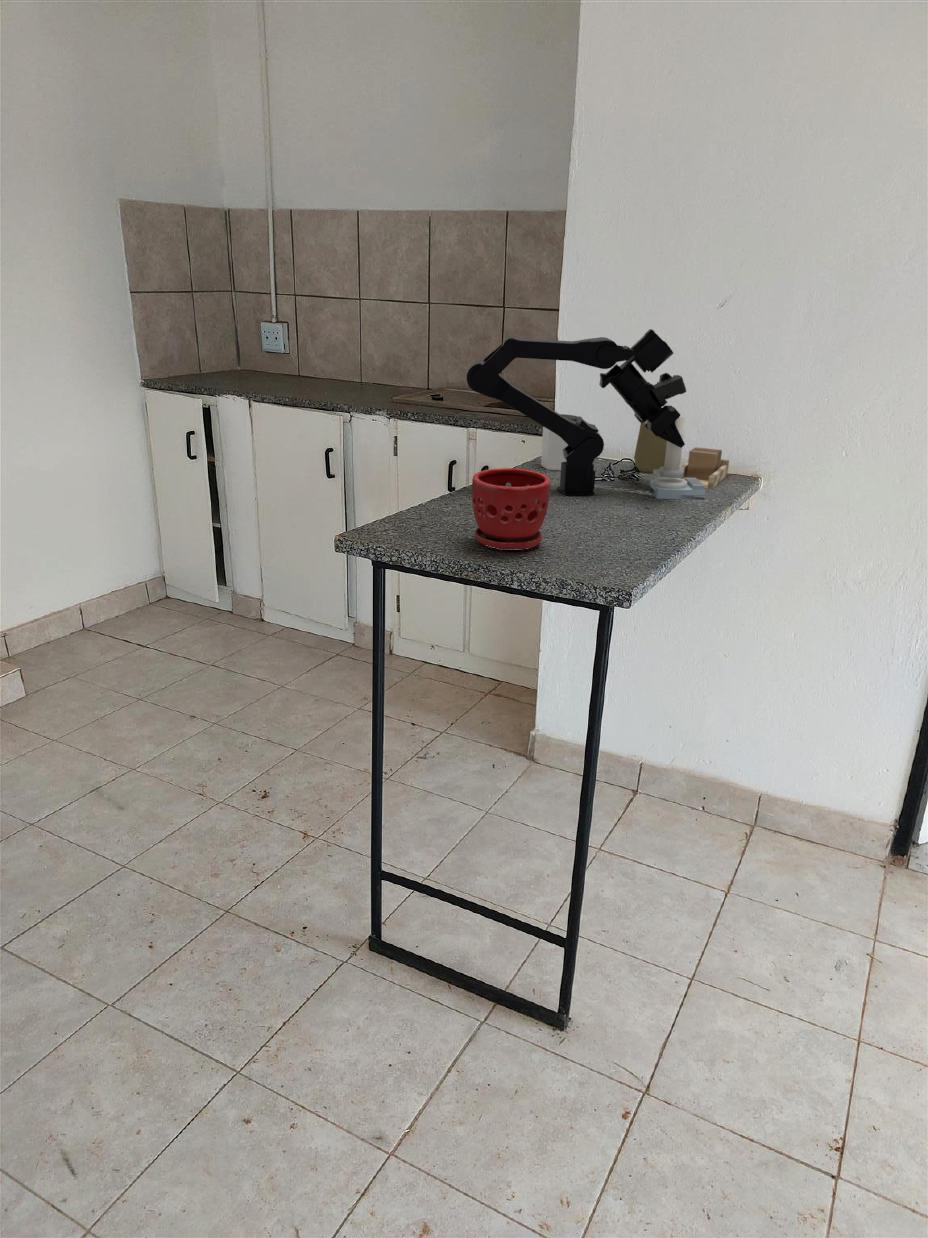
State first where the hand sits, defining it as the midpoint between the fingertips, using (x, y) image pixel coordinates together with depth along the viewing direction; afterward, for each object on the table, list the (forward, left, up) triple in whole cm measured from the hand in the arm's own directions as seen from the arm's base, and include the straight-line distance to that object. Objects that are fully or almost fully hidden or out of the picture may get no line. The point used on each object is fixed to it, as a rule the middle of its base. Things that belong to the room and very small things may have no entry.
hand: (681, 444), depth 188 cm
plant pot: (-46, -30, -11) cm, 56 cm away
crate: (+12, +11, -10) cm, 19 cm away
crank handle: (-1, 0, -7) cm, 7 cm away
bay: (+10, +9, -11) cm, 17 cm away
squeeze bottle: (+3, +20, -11) cm, 23 cm away
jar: (-16, +30, -11) cm, 36 cm away
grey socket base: (0, 0, -11) cm, 11 cm away
